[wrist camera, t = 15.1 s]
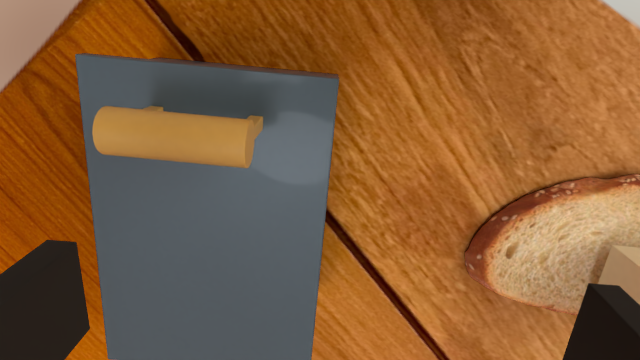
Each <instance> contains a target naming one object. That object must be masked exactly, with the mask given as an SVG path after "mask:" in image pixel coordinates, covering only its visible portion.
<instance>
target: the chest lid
mask: <svg viewBox="0 0 640 360" xmlns="http://www.w3.org/2000/svg"><path fill="white" fill-rule="evenodd" d="M75 57H76V67H77V76H78V85H79V94H80V104H81V113H82V122H83V131H84V141H85V150H86V159H87V168H88V178H89V187H90V196H91V205H92V215H93V224H94V233H95V242H96V252H97V261H98V270H99V279H100V288H101V298H102V307H103V316H104V325H105V335H106V344H107V353H108V359H112V360H311V356H312V346H313V336H314V326H315V316H316V306H317V296H318V286H319V276H320V266H321V256H322V246H323V236H324V226H325V216H326V206H327V196H328V186H329V175H330V165H331V155H332V145H333V135H334V125H335V115H336V105H337V95H338V85H339V77H334V76H323V75H312V74H301V73H291V72H280V71H269V70H259V69H248V68H237V67H226V66H216V65H205V64H194V63H183V62H173V61H162V60H151V59H140V58H130V57H119V56H108V55H98V54H87V53H84V54H76V55H75Z"/></svg>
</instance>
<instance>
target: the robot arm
mask: <svg viewBox="0 0 640 360" xmlns="http://www.w3.org/2000/svg"><path fill="white" fill-rule="evenodd" d="M89 329H90V326H89V320H88V313H87V307H86V301H85V294H84V288H83V282H82V275H81V269H80V262H79V256H78V250H77V243H76V242H68V241H55V240H46V241H45V242H44V243H42V244H41V245H40V246H38V247H37V248H36V249H34V250H33V251H31V252H30V253H29V254H27V255H26V256H25V257H23V258H22V259H21V260H19V261H18V262H17V263H15V264H14V265H12V266H11V267H10V268H8V269H7V270H6V271H4V272H3V273H2V274H0V360H64V359H65V358H66V357H67V356H68V355H69V353H70V352H71V351H72V350H73V349H74V347H75V346H76V345H77V344H78V342H79V341H80V340H81V339H82V338H83V336H84V335H85V334H86V333H87V331H88V330H89ZM563 360H640V305H639V304H638V303H637V302H636V301H635V300H634V299H633V298H632V297H631V296H630V295H629V294H627V293H626V292H625V291H624V290H623V289H622V288H621V287H620V286H618V285H605V284H593V283H588V286H587V289H586V292H585V295H584V298H583V301H582V304H581V307H580V310H579V313H578V316H577V319H576V322H575V324H574V327H573V330H572V333H571V336H570V339H569V342H568V345H567V348H566V351H565V354H564V357H563Z"/></svg>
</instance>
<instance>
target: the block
mask: <svg viewBox="0 0 640 360" xmlns="http://www.w3.org/2000/svg"><path fill="white" fill-rule="evenodd" d="M598 284H605V285H618V286H620V287H621V288H622V289H623V290H624V291H625V292H626V293H627V294H629V295H630V296H631V297H632V298H633V299H634V300H635V301H636V302H637V303H638V304H639V305H640V248H638V247H628V246H618V245H612V247H611V250H610V252H609V255H608V258H607V260H606V263H605V266H604V269H603V271H602V274H601V277H600V280H599V282H598Z"/></svg>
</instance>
